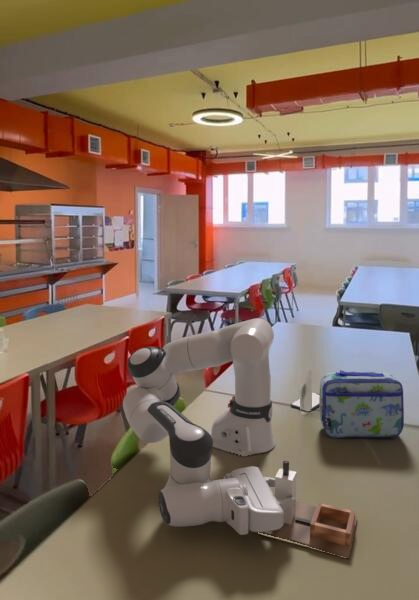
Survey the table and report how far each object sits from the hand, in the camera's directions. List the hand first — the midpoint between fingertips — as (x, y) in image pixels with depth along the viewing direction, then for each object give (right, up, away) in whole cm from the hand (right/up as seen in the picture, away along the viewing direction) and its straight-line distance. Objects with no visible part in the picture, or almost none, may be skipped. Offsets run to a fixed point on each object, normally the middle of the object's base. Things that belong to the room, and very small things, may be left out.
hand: (289, 491), depth 110 cm
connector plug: (-1, -6, +1) cm, 7 cm away
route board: (+4, -8, -1) cm, 9 cm away
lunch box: (+31, 0, +46) cm, 55 cm away
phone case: (+20, +4, +71) cm, 74 cm away
